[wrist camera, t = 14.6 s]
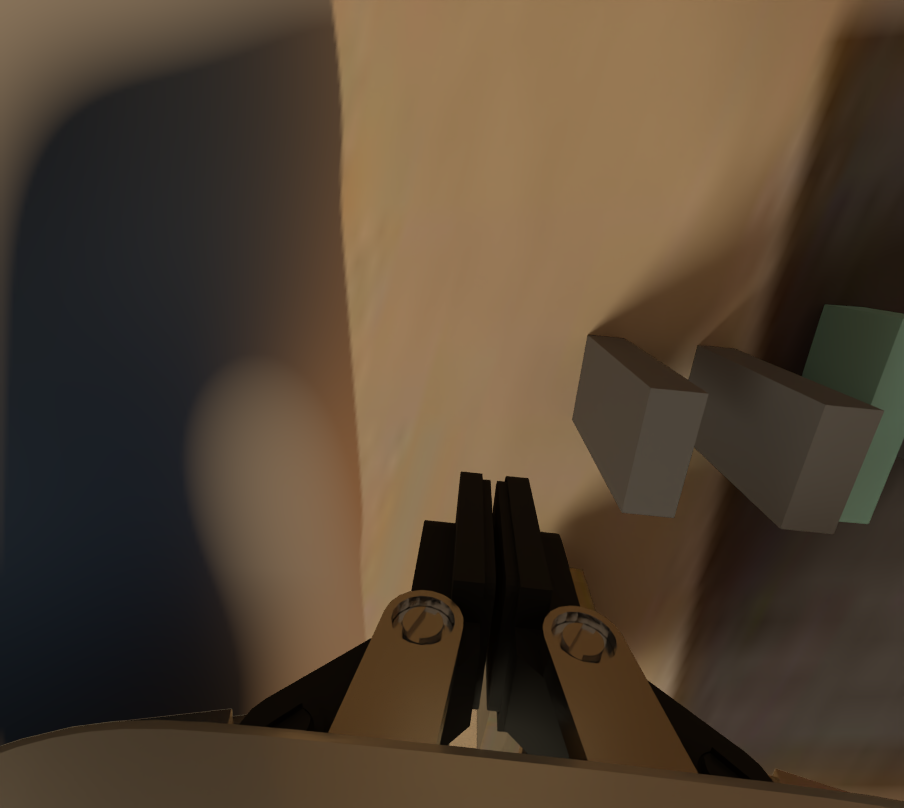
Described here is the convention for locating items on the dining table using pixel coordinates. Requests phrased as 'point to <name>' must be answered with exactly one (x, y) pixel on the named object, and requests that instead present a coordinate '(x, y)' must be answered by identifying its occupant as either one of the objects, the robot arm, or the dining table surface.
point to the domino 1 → (637, 424)
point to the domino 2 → (781, 437)
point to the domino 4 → (901, 451)
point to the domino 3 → (864, 387)
